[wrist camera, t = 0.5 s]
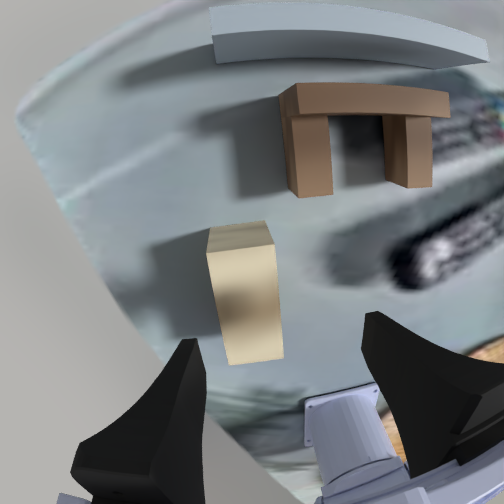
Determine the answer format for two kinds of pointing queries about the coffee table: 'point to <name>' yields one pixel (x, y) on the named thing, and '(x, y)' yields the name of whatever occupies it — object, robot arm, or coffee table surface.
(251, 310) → the cream wooden bar
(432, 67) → the backstop wall
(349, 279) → the coffee table surface
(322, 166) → the brown u-shaped bracket
